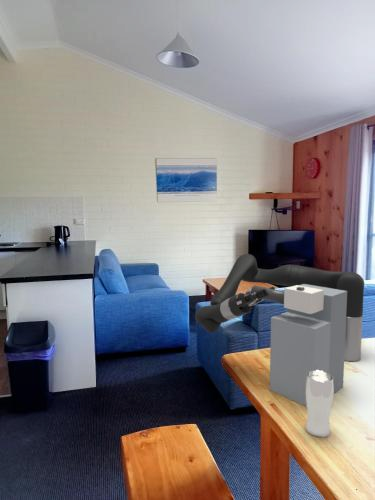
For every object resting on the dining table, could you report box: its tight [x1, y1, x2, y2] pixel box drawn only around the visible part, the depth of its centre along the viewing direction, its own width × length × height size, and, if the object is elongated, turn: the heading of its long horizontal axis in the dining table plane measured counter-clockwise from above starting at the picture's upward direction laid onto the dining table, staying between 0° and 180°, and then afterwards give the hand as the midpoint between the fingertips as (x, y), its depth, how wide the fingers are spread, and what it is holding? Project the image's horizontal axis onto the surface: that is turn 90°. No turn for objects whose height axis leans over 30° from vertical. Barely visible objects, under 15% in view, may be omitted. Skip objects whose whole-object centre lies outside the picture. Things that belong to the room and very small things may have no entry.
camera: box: [250, 285, 324, 314], centre depth 111 cm, size 7×23×7 cm, turn 41°
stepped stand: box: [269, 284, 347, 407], centre depth 112 cm, size 19×15×32 cm
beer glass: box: [305, 370, 335, 438], centre depth 92 cm, size 7×7×15 cm
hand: (270, 290), depth 115 cm, fingers closed on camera, 4 cm apart
